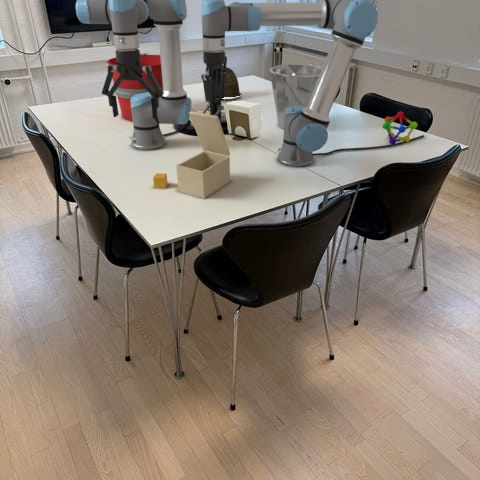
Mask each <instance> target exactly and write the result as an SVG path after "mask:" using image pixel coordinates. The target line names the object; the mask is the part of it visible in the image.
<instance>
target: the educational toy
mask: <svg viewBox="0 0 480 480" xmlns="http://www.w3.org/2000/svg"><path fill="white" fill-rule="evenodd" d="M397 119H399V124H400V125H399V127H398V126H393V125H391V124H392V123H394V122H395V121H396V120H397ZM403 120H404V121H405V122H407V123H408V124H409V125H407V126H404V123H403ZM417 127H418V122H417V121H411V120H410V119H409V118H408V117H406V116H405V113H404V112H403V111H401V110H400V111H398V112H397V114H396V115H394V116H391V117H390V116H386V117H385V118H384V122H383V123H382V129H383V130H386V132H387V138H388V142H389V145H390V144H395V143H398V142H403V141H406V142H407V143H409V140H410V139H411V138H410V136H411V134H412V132H413V131H414V130H415V129H417ZM392 129H393V130H397V131H398V132H396V134H395V133H394V132H392ZM408 129H409V131H408V133H407V134H406V135H404V136H401V134H403V133H405V132H406V130H408ZM399 135H400V136H399Z"/></svg>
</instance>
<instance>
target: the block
mask: <svg viewBox="0 0 480 480" xmlns="http://www.w3.org/2000/svg"><path fill="white" fill-rule="evenodd" d="M152 180H153V188H154V189H155V188H156V189H166V187H167V186H168V184H169V183H168V174H167V173H161V172H160V173H159V172H158V173H157V172H156V173H155V174H154V176H153V179H152Z"/></svg>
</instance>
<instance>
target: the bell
mask: <svg viewBox="0 0 480 480" xmlns="http://www.w3.org/2000/svg"><path fill="white" fill-rule="evenodd" d="M227 63H228V57H227V56H226V55H225V63H224V64H223V68H224V69H227V75H226V86H225V97H236V96H240V95H241V96H242V93H241V92H240V83H239V80H238V79H239V78H238V77H237V75H236V73H235V72H234V70H232V69H231V68H230V67H227Z"/></svg>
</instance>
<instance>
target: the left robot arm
mask: <svg viewBox="0 0 480 480" xmlns="http://www.w3.org/2000/svg"><path fill="white" fill-rule="evenodd" d="M187 11H188V9H187V3H186V0H76V2H75V13H76V17H77V19H78V21H79V22H80V23H82V24H89V25H111V28H112V37H113V43H114V48H115V52H114V53H115V57H116V60H117V66H114V65H113V64H111V65H109V64H108V65H109V66H107V74H106V78H105V81H104V84H103V86H102V90H101V94H102V95H104V96H107V98H108V105H109V107H111V108H112V114H113V118H117V117H118V116H119V115H120V114H119V108H118V107H119V106H118V99H117V95H116V94H115V91H116V90H117V88H118V87H119V85H120V84H121V82H122V81H123V80H125V81H128V80H132V81H135V80H137V81H138V82H140V83H141V84H142V85H143V87H144V88H145V89H146V90H147V91H148V92H145V93H140V94H136V95H134V96H133V97H132V98H131V111H132V118H133V121H132V125H133V132H132V135H129V137H128V138H129V140H131V142H130V143H131V147H132V148H134V149H135V150H141V151H151V150H153V151H154V150H157V149H161V148H163V147H164V146H165V144H166V140H165V137H167V136H171V135H173V134H177V133H179V132H181V131H182V130H183V129H184V128H185V127H186V126H187V125H188V124H189V122H190V121H189V118H191V117H190V115H189V112H190V111H192V99H191V97H189V96H188V93H187V91H185V89H184V84H183V67H182V51H181V50H182V49H181V34H180V33H181V31H180V29H181V28H182V26H183V25H184V23H183V21H184V20H186V19H187V15H188V13H187ZM146 20H153V26H154V27H155V28H156V29H157V32H158V44H159V55H160V57H161V69H162V81H163V90H162V89H161V87H160V85H159V83H158V82H157V80H156V78H155V76H154V74H153V73H152V68H151V66H150V65H149V66H146V67H142V65H141V57H140V54H141V50H140V49H139V48H140V42H139V41H140V39H139V31H138V25H141V24H143V23H144V22H146ZM116 70H117V71H118V73H119V74H120V75H119V77H118V78H117V80H116V82H115V83H113V84H114V85H113V84H112V82H113V79H112V78H113V75H114V72H115V71H116ZM142 71H144V72H145V73H146V74H147V76H148V78H149V80H150V82H151V83H152V85H153V87H154V89H155V90H154V89H153V88H152V86H151V85H150V84H149V83H148V82H147V81H146V79H145V78H144V76H143V75H142V74H141V73H142ZM111 84H112V85H111ZM110 86H111V88H110ZM160 124H161V125H164V124H165V125H177V126H179V125H183V126H184V124H185V126H184V127H183V126H182V127H183V128H182V127H180V128H181V129H180V128H179V129H180V130H179V129H177V130H174V131H172V132H168V133H163V132H162V130H161V127H160Z"/></svg>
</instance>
